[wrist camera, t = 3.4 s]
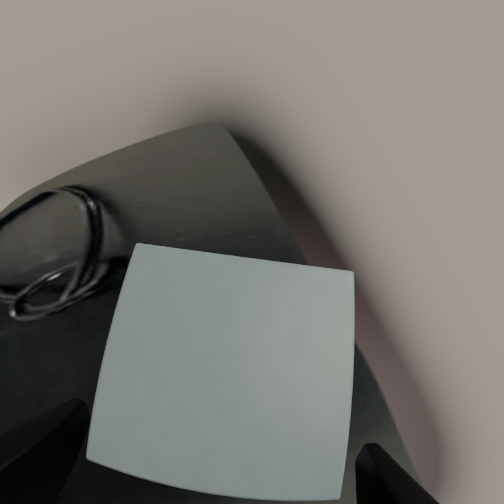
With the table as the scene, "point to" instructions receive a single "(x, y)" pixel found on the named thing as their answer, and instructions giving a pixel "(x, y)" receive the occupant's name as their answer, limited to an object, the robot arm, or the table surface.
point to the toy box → (228, 376)
